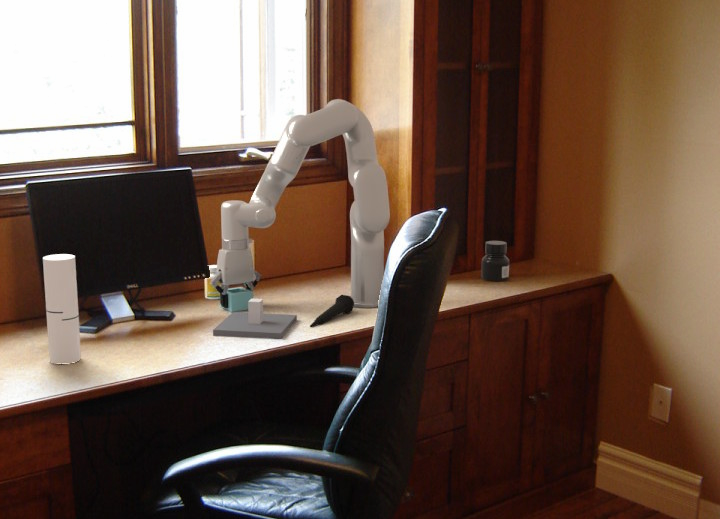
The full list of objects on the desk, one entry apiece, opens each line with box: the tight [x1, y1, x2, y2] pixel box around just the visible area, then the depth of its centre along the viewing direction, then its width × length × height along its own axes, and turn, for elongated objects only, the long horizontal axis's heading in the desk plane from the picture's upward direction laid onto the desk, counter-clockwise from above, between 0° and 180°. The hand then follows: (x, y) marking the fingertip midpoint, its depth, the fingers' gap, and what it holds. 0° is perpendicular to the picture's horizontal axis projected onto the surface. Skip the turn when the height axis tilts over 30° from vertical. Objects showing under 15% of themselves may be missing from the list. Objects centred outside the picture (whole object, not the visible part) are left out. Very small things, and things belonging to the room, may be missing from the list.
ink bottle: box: [480, 240, 510, 282], centre depth 312 cm, size 10×9×12 cm
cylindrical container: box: [42, 253, 82, 364], centre depth 226 cm, size 7×7×25 cm
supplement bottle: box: [203, 264, 221, 300], centre depth 287 cm, size 5×5×10 cm
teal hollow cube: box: [219, 286, 254, 313], centre depth 276 cm, size 7×7×5 cm
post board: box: [212, 298, 298, 340], centre depth 256 cm, size 18×18×8 cm
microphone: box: [309, 294, 355, 328], centre depth 265 cm, size 6×6×20 cm
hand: (236, 304), depth 277 cm, fingers closed on teal hollow cube, 7 cm apart
